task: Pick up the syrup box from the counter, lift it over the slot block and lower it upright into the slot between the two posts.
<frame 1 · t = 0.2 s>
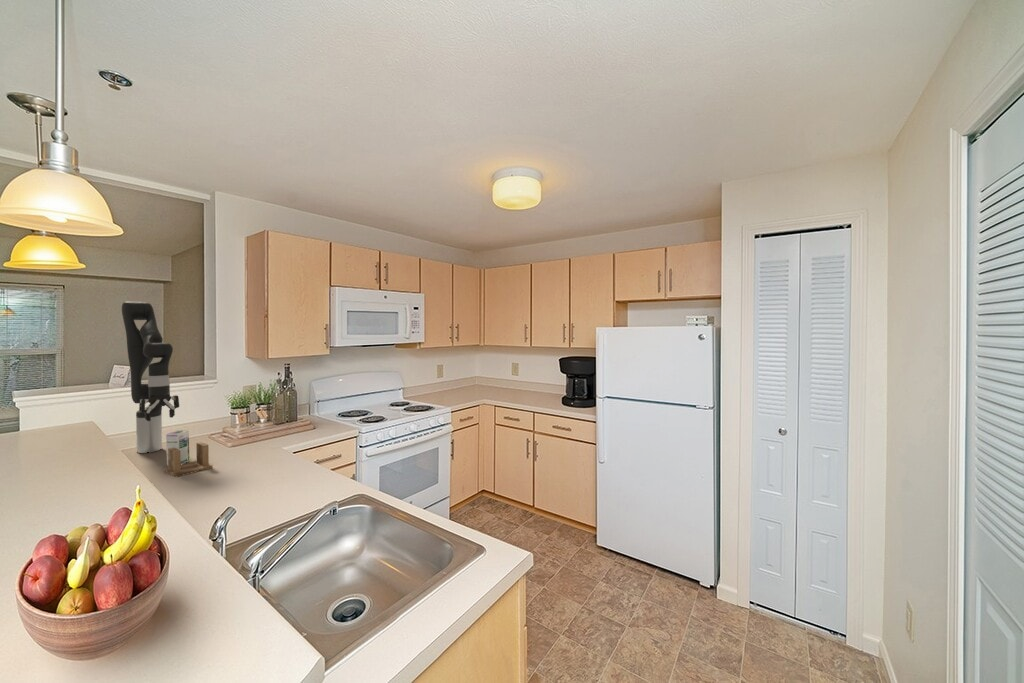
hand: (160, 419, 187), 18 cm above the counter, tool pointing down, fingers open, 8 cm apart
syrup box: (178, 464, 179), on the counter
slot block: (188, 469, 172), on the counter
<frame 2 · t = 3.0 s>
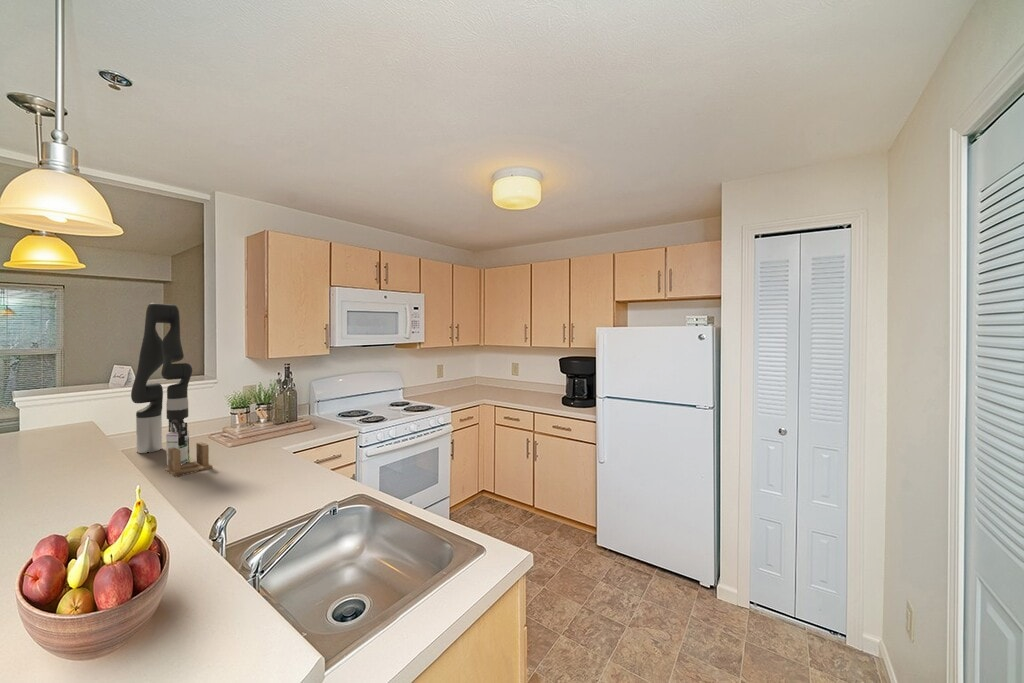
hand: (178, 443, 179), 9 cm above the counter, tool pointing down, fingers closed on syrup box, 7 cm apart
syrup box: (178, 464, 179), on the counter, touching gripper
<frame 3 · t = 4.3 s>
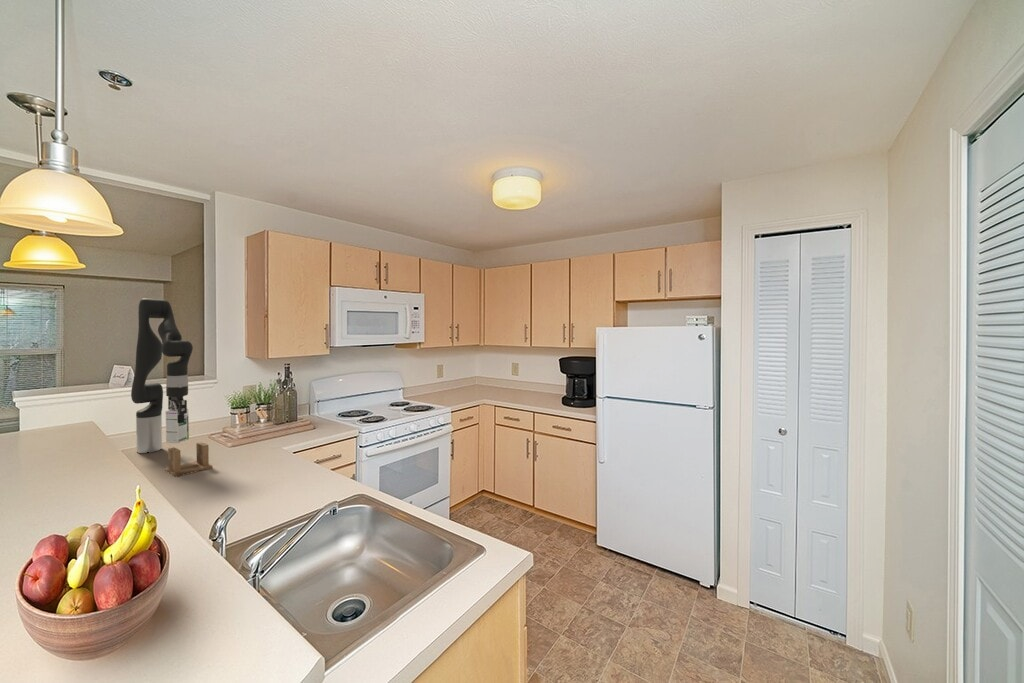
hand: (177, 421, 178), 19 cm above the counter, tool pointing down, fingers closed on syrup box, 7 cm apart
syrup box: (177, 441, 178), point 10 cm above the counter, touching gripper
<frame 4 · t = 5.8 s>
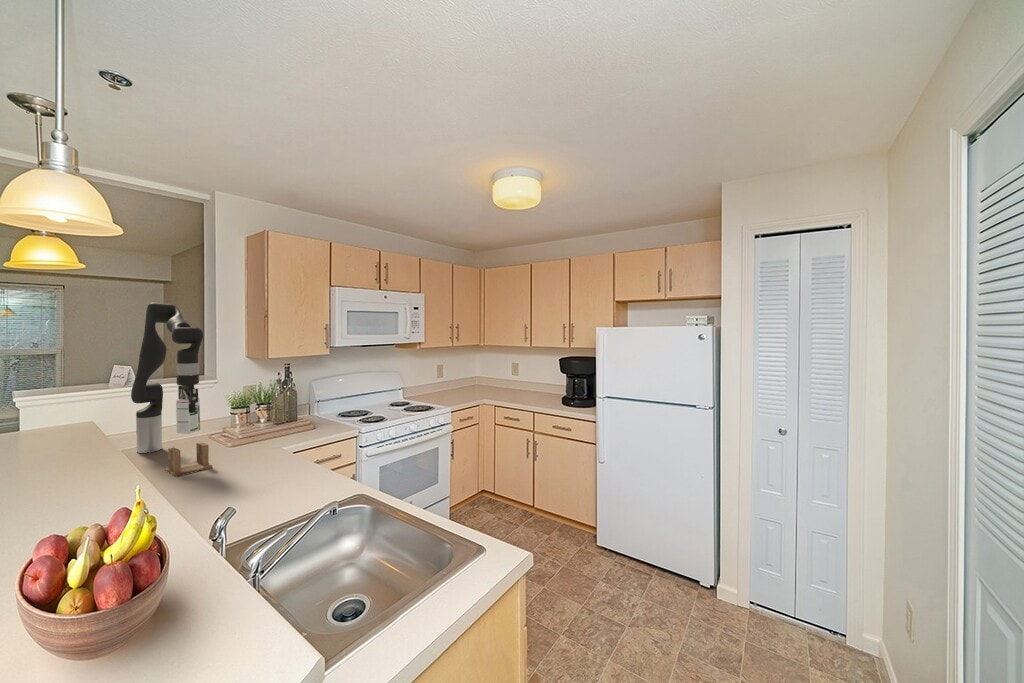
hand: (188, 411, 171), 26 cm above the counter, tool pointing down, fingers closed on syrup box, 7 cm apart
syrup box: (188, 432, 172), point 16 cm above the counter, touching gripper
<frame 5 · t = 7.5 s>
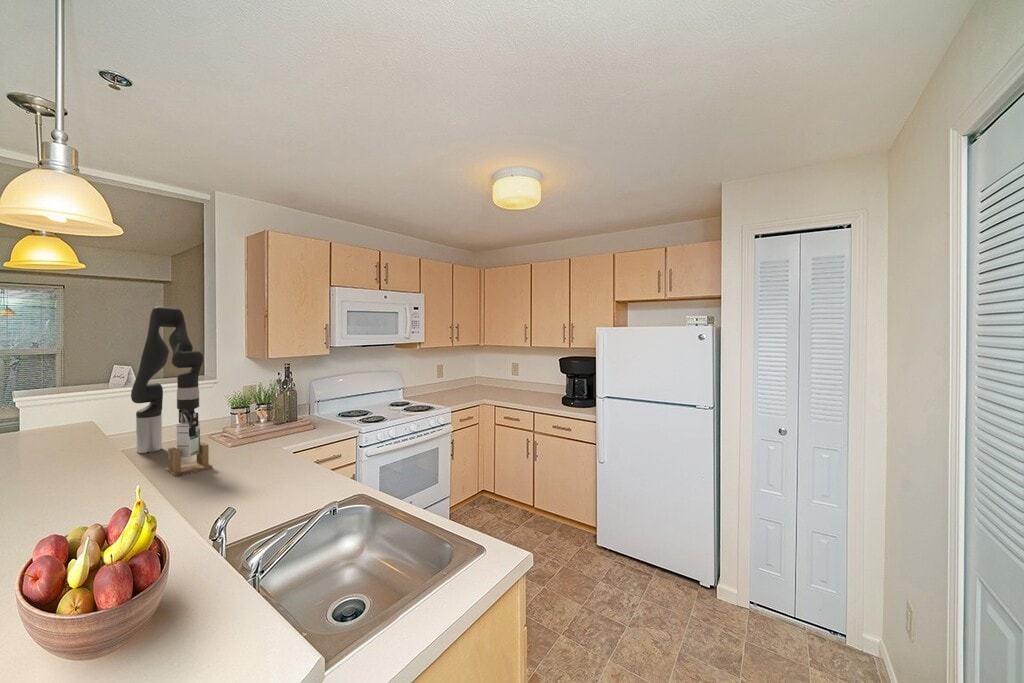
hand: (188, 434, 172), 15 cm above the counter, tool pointing down, fingers closed on syrup box, 7 cm apart
syrup box: (188, 455, 172), point 6 cm above the counter, touching gripper
when the fingers open (11 cm above the counter, at t = 9.0 s): syrup box drops 1 cm, resting on slot block.
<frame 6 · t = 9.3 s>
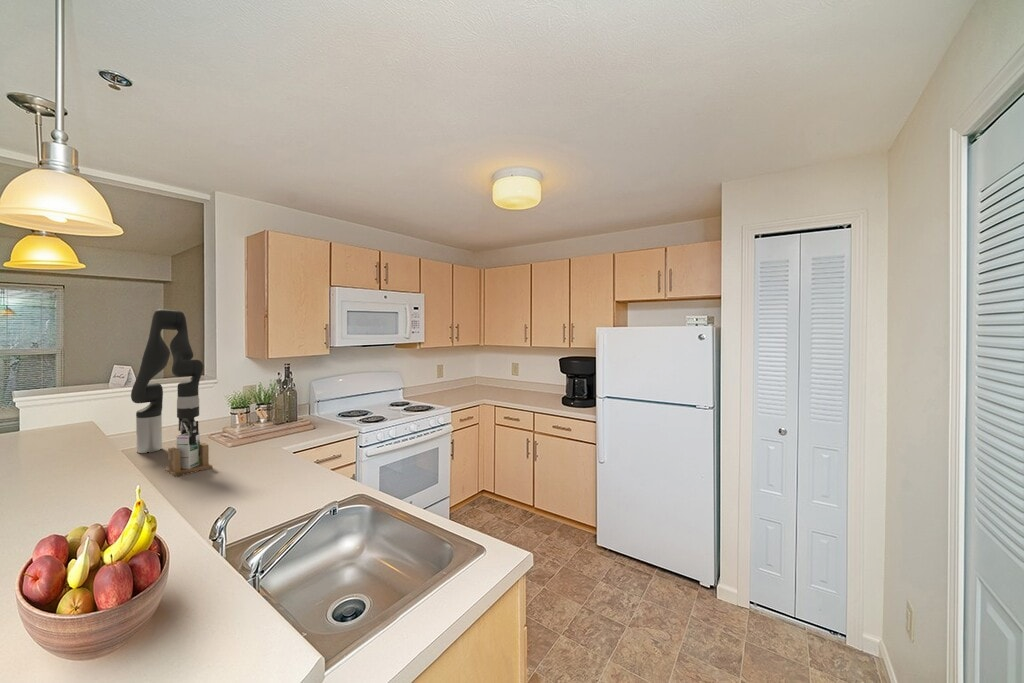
hand: (188, 442, 172), 12 cm above the counter, tool pointing down, fingers open, 8 cm apart
syrup box: (188, 467, 173), point 1 cm above the counter, touching gripper, slot block
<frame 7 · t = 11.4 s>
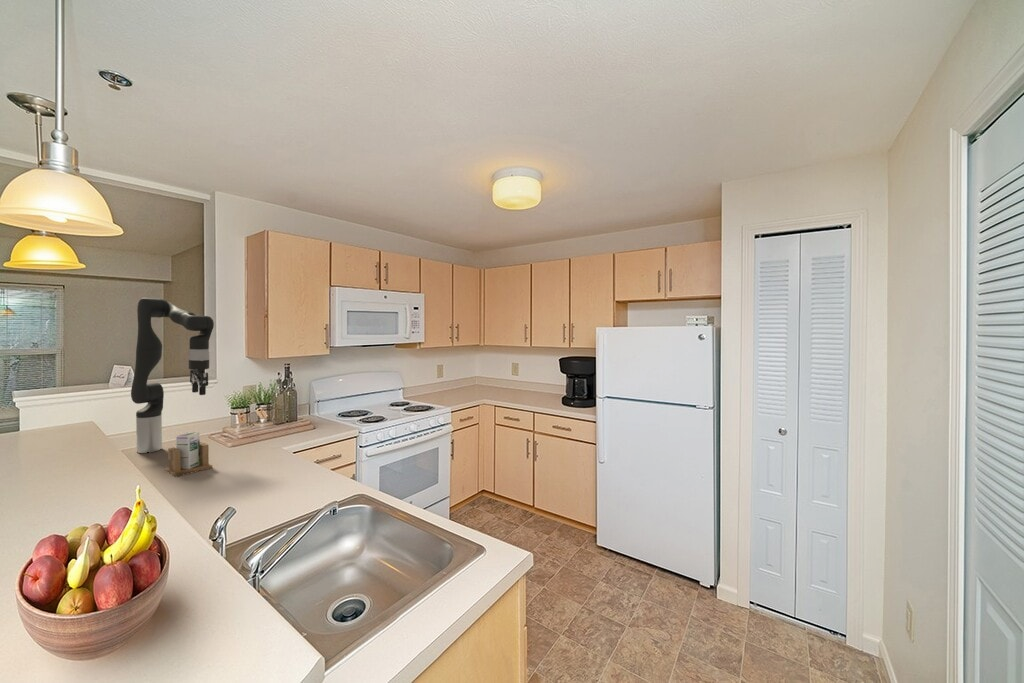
hand: (198, 393, 184), 31 cm above the counter, tool pointing down, fingers open, 8 cm apart
syrup box: (188, 467, 173), point 1 cm above the counter, touching slot block
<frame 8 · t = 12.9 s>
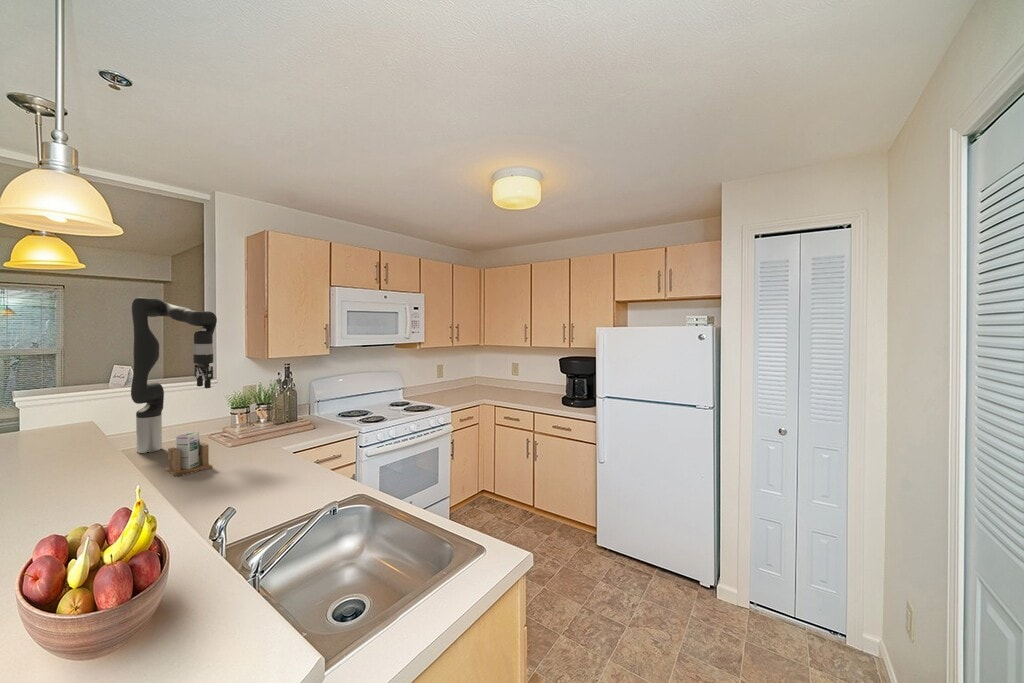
hand: (203, 387, 188), 33 cm above the counter, tool pointing down, fingers open, 8 cm apart
nothing on the counter moved.
at the end: syrup box 0.3 cm off-centre on the slot block, point 0.8 cm above the slot block's base; syrup box tilted 0°; the gripper is holding nothing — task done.
